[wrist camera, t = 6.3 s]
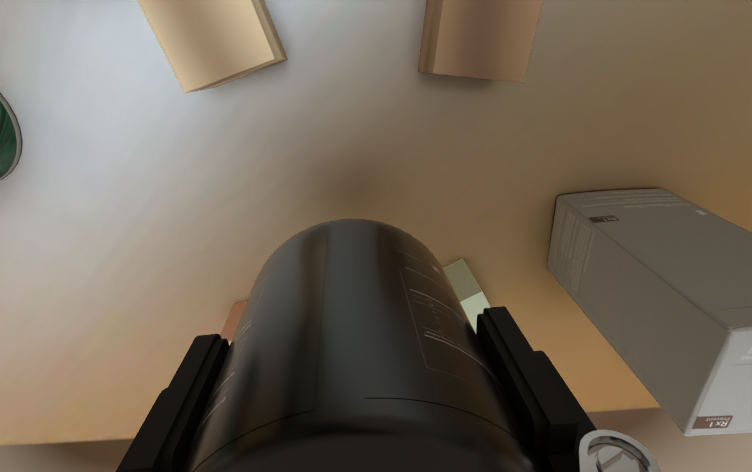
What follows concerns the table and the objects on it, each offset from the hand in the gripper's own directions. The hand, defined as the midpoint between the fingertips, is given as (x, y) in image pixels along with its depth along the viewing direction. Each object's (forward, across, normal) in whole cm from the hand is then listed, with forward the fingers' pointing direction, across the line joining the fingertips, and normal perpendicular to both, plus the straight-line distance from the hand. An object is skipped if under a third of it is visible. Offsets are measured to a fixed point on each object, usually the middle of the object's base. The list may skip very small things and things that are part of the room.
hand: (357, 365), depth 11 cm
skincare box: (+19, -18, +6) cm, 27 cm away
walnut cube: (+19, -8, -9) cm, 22 cm away
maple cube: (+19, +6, -10) cm, 22 cm away
